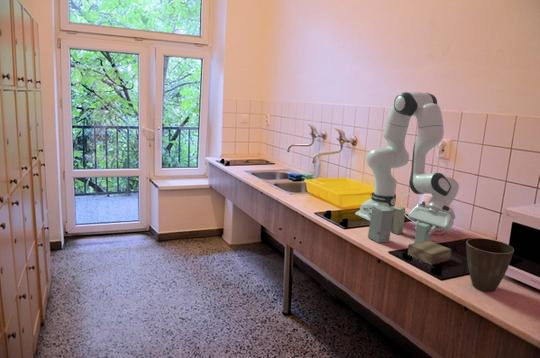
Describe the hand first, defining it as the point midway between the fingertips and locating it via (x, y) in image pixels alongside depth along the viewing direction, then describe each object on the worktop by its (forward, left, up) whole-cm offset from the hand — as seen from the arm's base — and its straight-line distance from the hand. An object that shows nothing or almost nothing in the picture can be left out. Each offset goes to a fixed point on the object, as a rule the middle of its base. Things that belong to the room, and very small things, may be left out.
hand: (422, 232), depth 188 cm
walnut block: (+11, -11, -6) cm, 17 cm away
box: (-16, +4, -6) cm, 17 cm away
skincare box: (-14, -12, -6) cm, 20 cm away
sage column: (0, +1, -5) cm, 5 cm away
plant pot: (+38, -19, -6) cm, 43 cm away
